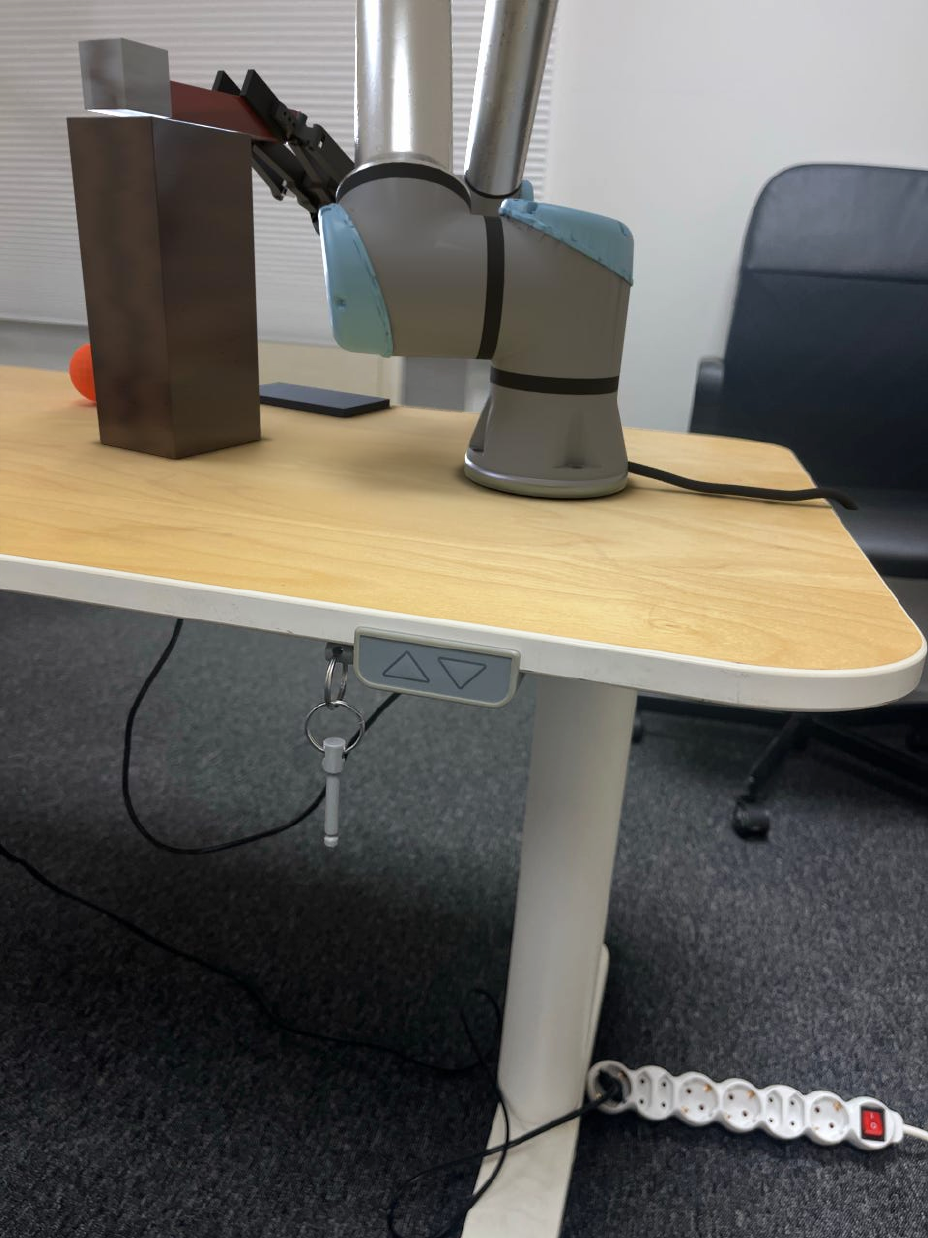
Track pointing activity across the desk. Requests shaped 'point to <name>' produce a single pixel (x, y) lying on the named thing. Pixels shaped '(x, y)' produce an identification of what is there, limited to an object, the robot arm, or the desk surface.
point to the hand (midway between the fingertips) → (231, 82)
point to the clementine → (83, 372)
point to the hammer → (157, 89)
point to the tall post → (168, 281)
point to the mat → (319, 399)
